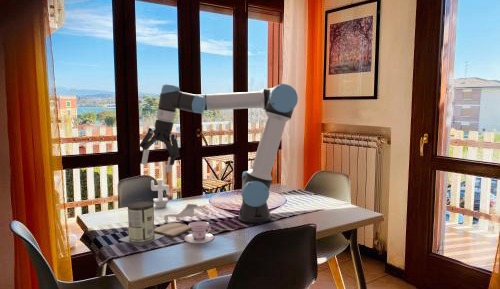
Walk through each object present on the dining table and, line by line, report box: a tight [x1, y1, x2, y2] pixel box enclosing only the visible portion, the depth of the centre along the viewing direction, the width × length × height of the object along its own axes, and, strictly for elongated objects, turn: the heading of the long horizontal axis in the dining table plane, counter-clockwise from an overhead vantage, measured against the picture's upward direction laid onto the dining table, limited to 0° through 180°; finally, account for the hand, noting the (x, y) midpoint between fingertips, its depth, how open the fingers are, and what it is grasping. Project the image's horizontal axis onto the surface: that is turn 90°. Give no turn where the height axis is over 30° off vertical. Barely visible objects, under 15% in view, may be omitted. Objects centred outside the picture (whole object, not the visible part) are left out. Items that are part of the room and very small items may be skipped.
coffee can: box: [127, 200, 155, 242], centre depth 151 cm, size 10×10×14 cm
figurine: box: [150, 177, 170, 208], centre depth 199 cm, size 7×9×15 cm
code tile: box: [118, 233, 165, 247], centre depth 152 cm, size 13×13×1 cm
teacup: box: [184, 220, 215, 245], centre depth 151 cm, size 12×12×6 cm
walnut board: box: [154, 221, 192, 238], centre depth 162 cm, size 13×13×1 cm
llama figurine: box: [163, 202, 210, 223], centre depth 175 cm, size 2×12×20 cm
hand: (156, 167), depth 162 cm, fingers open, 13 cm apart
